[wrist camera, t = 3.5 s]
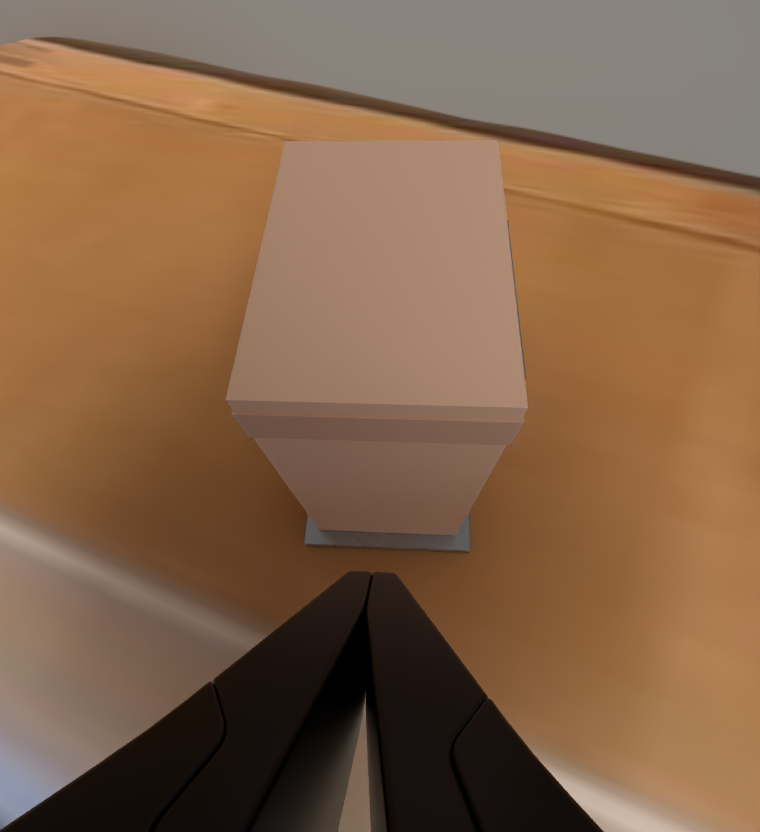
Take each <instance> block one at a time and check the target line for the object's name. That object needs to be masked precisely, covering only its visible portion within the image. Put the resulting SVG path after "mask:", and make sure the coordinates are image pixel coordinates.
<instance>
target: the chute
mask: <svg viewBox="0 0 760 832" xmlns="http://www.w3.org/2000/svg"><path fill="white" fill-rule="evenodd" d="M507 224H508V221H507ZM508 233H509V226H508ZM509 242H510V235H509ZM510 251H511V244H510ZM511 260H512V252H511ZM512 269H513V261H512ZM513 278H514V270H513ZM514 287H515V279H514ZM515 296H516V288H515ZM516 305H517V296H516ZM517 314H518V305H517ZM518 323H519V314H518ZM519 331H520V323H519ZM520 340H521V332H520ZM521 349H522V341H521ZM522 358H523V349H522ZM523 367H524V358H523ZM524 376H525V367H524ZM525 379H526V376H525ZM304 544H305V545H306V546H317V547H340V548H363V549H386V550H409V551H432V552H455V553H469V551H470V537H469V513H468V515H467V516H466V518H465V520H464V522H463V524H462V525H461V527H460V529H459V531H458V532H457V534H456V536H453V535H429V534H405V533H381V532H357V531H333V530H319V529H318V528H317V527H316V525H315V524H314V522H313V521H312V520H311V518H310V517H309V515H308V516H307V524H306V533H305V541H304Z"/></svg>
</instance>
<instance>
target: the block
mask: <svg viewBox="0 0 760 832" xmlns="http://www.w3.org/2000/svg"><path fill="white" fill-rule="evenodd" d="M225 400H226V401H227V403H228V404H229V406H230V407H231V408H232V412H231V415H232V417H233V418H234V419H235V421H236V422H237V424H238V425H239V426H240V428H241V429H242V430H243V432H244V433H245V434H246V436H247V437H250V438H253V439H254V440H255V442H256V443H257V445H258V446H259V447H260V449H261V450H262V451H263V453H264V454H265V456H266V457H267V458H268V460H269V461H270V463H271V464H272V465H273V467H274V468H275V470H276V471H277V472H278V474H279V475H280V476H281V478H282V479H283V481H284V482H285V483H286V485H287V486H288V488H289V489H290V490H291V492H292V493H293V495H294V496H295V497H296V499H297V500H298V502H299V503H300V504H301V506H302V507H303V508H304V510H305V511H306V513H307V514H308V515H309V517H310V518H311V520H312V521H313V522H314V524H315V525H316V527H317V528H318V529H319V530H333V531H357V532H381V533H405V534H429V535H453V536H456V534H457V532H458V531H459V529H460V527H461V525H462V524H463V522H464V520H465V518H466V516H467V515H468V513H469V511H470V509H471V508H472V506H473V504H474V502H475V501H476V499H477V497H478V495H479V494H480V492H481V490H482V488H483V487H484V485H485V483H486V481H487V479H488V478H489V476H490V474H491V472H492V471H493V469H494V467H495V465H496V464H497V462H498V460H499V458H500V457H501V455H502V453H503V451H504V449H505V448H506V446H507V445H509V446H511V445H512V443H513V441H514V440H515V438H516V436H517V435H518V433H519V431H520V429H521V428H522V426H523V424H524V414H525V412H526V411H527V409H528V403H527V394H526V385H525V376H524V367H523V358H522V349H521V340H520V331H519V323H518V314H517V305H516V296H515V287H514V278H513V269H512V260H511V251H510V242H509V233H508V224H507V216H506V207H505V198H504V189H503V180H502V171H501V162H500V153H499V144H498V140H426V141H285V144H284V148H283V152H282V157H281V161H280V165H279V170H278V174H277V178H276V183H275V187H274V191H273V196H272V200H271V204H270V209H269V213H268V217H267V222H266V226H265V230H264V235H263V239H262V243H261V248H260V252H259V256H258V261H257V265H256V269H255V274H254V278H253V282H252V287H251V291H250V295H249V300H248V304H247V308H246V313H245V317H244V321H243V326H242V330H241V334H240V339H239V343H238V347H237V352H236V356H235V360H234V365H233V369H232V373H231V378H230V382H229V386H228V391H227V395H226V399H225Z"/></svg>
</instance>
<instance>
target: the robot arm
mask: <svg viewBox="0 0 760 832" xmlns="http://www.w3.org/2000/svg"><path fill="white" fill-rule="evenodd" d="M365 695H366V729H367V752H368V775H369V797H370V820H371V832H604V831H603V830H602V829H601V828H600V827H599V826H598V825H597V824H596V823H595V822H594V821H593V820H592V818H591V817H590V816H589V815H588V814H587V813H586V812H585V811H584V810H583V809H582V808H581V807H580V806H579V804H578V803H577V802H576V801H575V800H574V799H573V798H572V797H571V796H570V795H569V793H568V792H567V791H566V790H565V789H564V788H563V787H562V786H561V784H560V783H559V782H558V781H557V780H556V779H555V778H554V777H553V775H552V774H551V773H550V772H549V771H548V770H547V769H546V767H545V766H544V765H543V764H542V763H541V762H540V761H539V760H538V758H537V757H536V756H535V755H534V754H533V753H532V751H531V750H530V749H529V748H528V746H527V745H526V744H525V743H524V741H523V740H522V739H521V738H520V736H519V735H518V734H517V733H516V731H515V730H514V729H513V728H512V726H511V725H510V724H509V723H508V721H507V720H506V719H505V717H504V716H503V715H502V713H501V712H500V711H499V709H498V708H497V707H496V705H495V704H494V703H493V701H492V700H491V699H488V696H487V695H486V693H485V692H484V691H483V689H482V688H481V687H480V685H479V684H478V683H477V681H476V680H475V679H474V677H473V676H472V675H471V673H470V672H469V671H468V669H467V668H466V667H465V665H464V664H463V663H462V661H461V660H460V659H459V657H458V656H457V655H456V653H455V652H454V651H453V649H452V648H451V647H450V645H449V644H448V643H447V641H446V640H445V639H444V637H443V636H442V635H441V633H440V632H439V631H438V629H437V628H436V627H435V625H434V624H433V623H432V621H431V620H430V619H429V617H428V616H427V615H426V613H425V612H424V611H423V609H422V608H421V607H420V605H419V604H418V603H417V601H416V600H415V599H414V597H413V596H412V595H411V593H410V592H409V591H408V589H407V588H406V587H405V585H404V584H403V583H402V581H401V580H400V579H399V577H398V576H397V575H396V574H395V573H387V572H375V573H374V574H373V575H372V574H371V573H370V572H364V571H350V572H348V573H346V574H345V575H344V576H343V577H341V578H340V579H339V580H338V581H336V582H335V583H334V584H333V585H331V586H330V587H329V588H328V589H326V590H325V591H324V592H323V593H321V594H320V595H319V596H318V597H316V598H315V599H314V600H313V601H311V602H310V603H309V604H308V605H306V606H305V607H304V608H303V609H301V610H300V611H299V612H298V613H296V614H295V615H294V616H293V617H291V618H290V619H289V620H287V621H286V622H285V623H284V624H282V625H281V626H280V627H279V628H277V629H276V630H275V631H274V632H272V633H271V634H270V635H269V636H267V637H266V638H265V639H264V640H262V641H261V642H260V643H259V644H257V645H256V646H255V647H254V648H252V649H251V650H250V651H249V652H247V653H246V654H245V655H244V656H242V657H241V658H240V659H239V660H237V661H236V662H235V663H234V664H232V665H231V666H230V667H229V668H227V669H226V670H225V671H224V672H222V673H221V674H220V675H219V676H217V677H216V678H215V679H214V680H213V683H212V682H209V683H207V684H206V685H205V686H203V687H202V688H201V689H200V690H198V691H197V692H196V693H195V694H193V695H192V696H191V697H189V698H188V699H187V700H186V701H184V702H183V703H182V704H180V705H179V706H178V707H176V708H175V709H174V710H172V711H171V712H170V713H169V714H167V715H166V716H165V717H163V718H162V719H161V720H159V721H158V722H157V723H155V724H154V725H153V726H151V727H150V728H149V729H147V730H146V731H145V732H143V733H142V734H140V735H139V736H137V737H136V738H135V739H133V740H132V741H130V742H129V743H127V744H126V745H125V746H123V747H122V748H120V749H119V750H117V751H116V752H115V753H113V754H112V755H110V756H109V757H107V758H106V759H105V760H103V761H102V762H100V763H99V764H97V765H96V766H94V767H93V768H91V769H90V770H89V771H87V772H86V773H84V774H83V775H81V776H80V777H78V778H77V779H75V780H74V781H72V782H71V783H69V784H68V785H66V786H65V787H63V788H62V789H60V790H59V791H57V792H56V793H54V794H53V795H51V796H50V797H49V798H47V799H46V800H44V801H43V802H41V803H40V804H38V805H37V806H35V807H34V808H32V809H31V810H29V811H28V812H26V813H25V814H23V815H22V816H20V817H19V818H17V819H16V820H14V821H13V822H11V823H10V824H8V825H7V826H6V827H4V828H3V829H1V830H0V832H338V827H339V823H340V818H341V813H342V809H343V804H344V799H345V795H346V790H347V785H348V781H349V776H350V771H351V767H352V762H353V757H354V752H355V748H356V743H357V738H358V734H359V729H360V724H361V720H362V715H363V709H364V704H365Z"/></svg>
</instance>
